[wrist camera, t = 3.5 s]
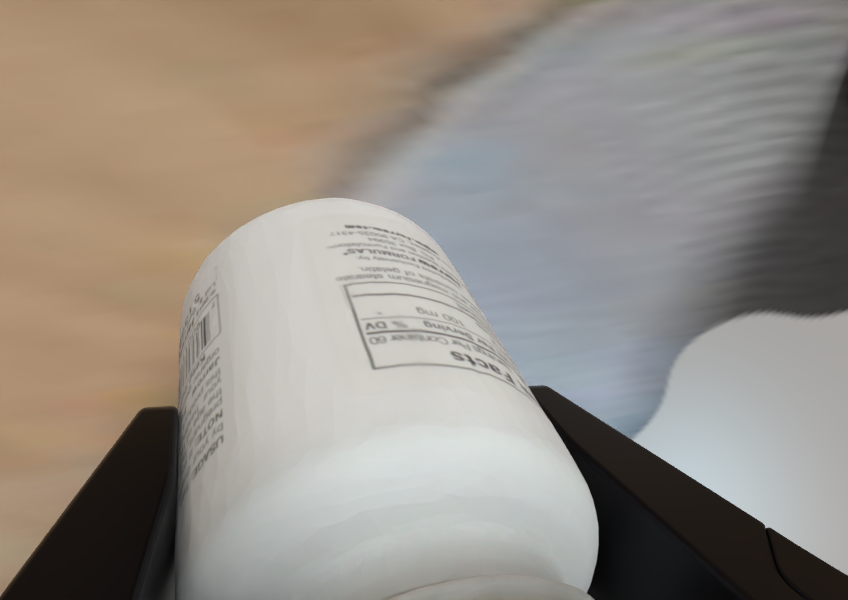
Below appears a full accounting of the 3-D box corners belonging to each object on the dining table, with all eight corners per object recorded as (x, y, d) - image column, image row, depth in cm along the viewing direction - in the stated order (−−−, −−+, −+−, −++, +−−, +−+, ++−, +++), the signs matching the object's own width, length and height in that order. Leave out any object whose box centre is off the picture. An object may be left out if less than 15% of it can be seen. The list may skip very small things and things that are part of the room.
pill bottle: (268, 461, 13) (343, 1067, 6) (118, 276, 10) (-2, 984, 4) (488, 350, 13) (781, 845, 6) (395, 138, 10) (727, 616, 4)
